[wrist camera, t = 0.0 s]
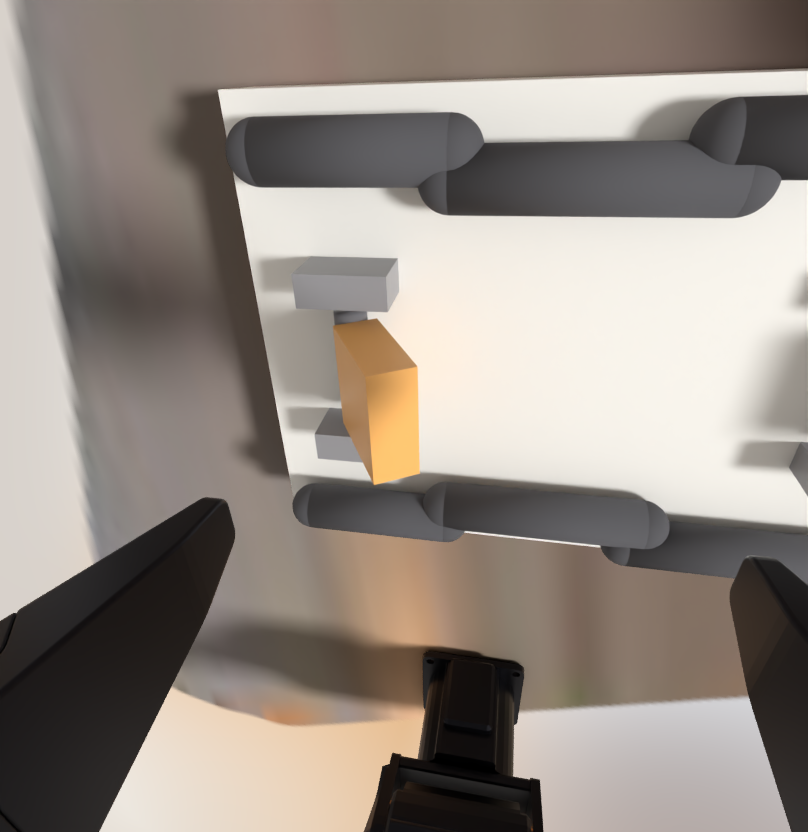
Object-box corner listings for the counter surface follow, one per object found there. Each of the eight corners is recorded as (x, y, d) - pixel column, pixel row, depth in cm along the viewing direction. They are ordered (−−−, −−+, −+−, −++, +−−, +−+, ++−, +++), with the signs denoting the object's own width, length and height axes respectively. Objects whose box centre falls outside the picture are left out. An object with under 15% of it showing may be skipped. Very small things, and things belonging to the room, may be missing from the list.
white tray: (809, 523, 25) (864, 613, 21) (315, 476, 29) (281, 543, 25) (1043, 60, 16) (1229, 59, 11) (256, 86, 20) (185, 92, 16)
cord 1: (1052, 212, 15) (1117, 230, 13) (252, 206, 19) (226, 219, 17) (1126, 84, 13) (1212, 87, 12) (235, 107, 17) (205, 112, 16)
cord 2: (845, 565, 22) (870, 604, 21) (304, 507, 26) (290, 537, 25) (876, 511, 21) (907, 549, 19) (296, 458, 25) (280, 486, 23)
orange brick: (374, 403, 22) (419, 478, 18) (336, 411, 22) (374, 489, 18) (366, 301, 20) (417, 360, 16) (324, 308, 20) (364, 370, 15)
